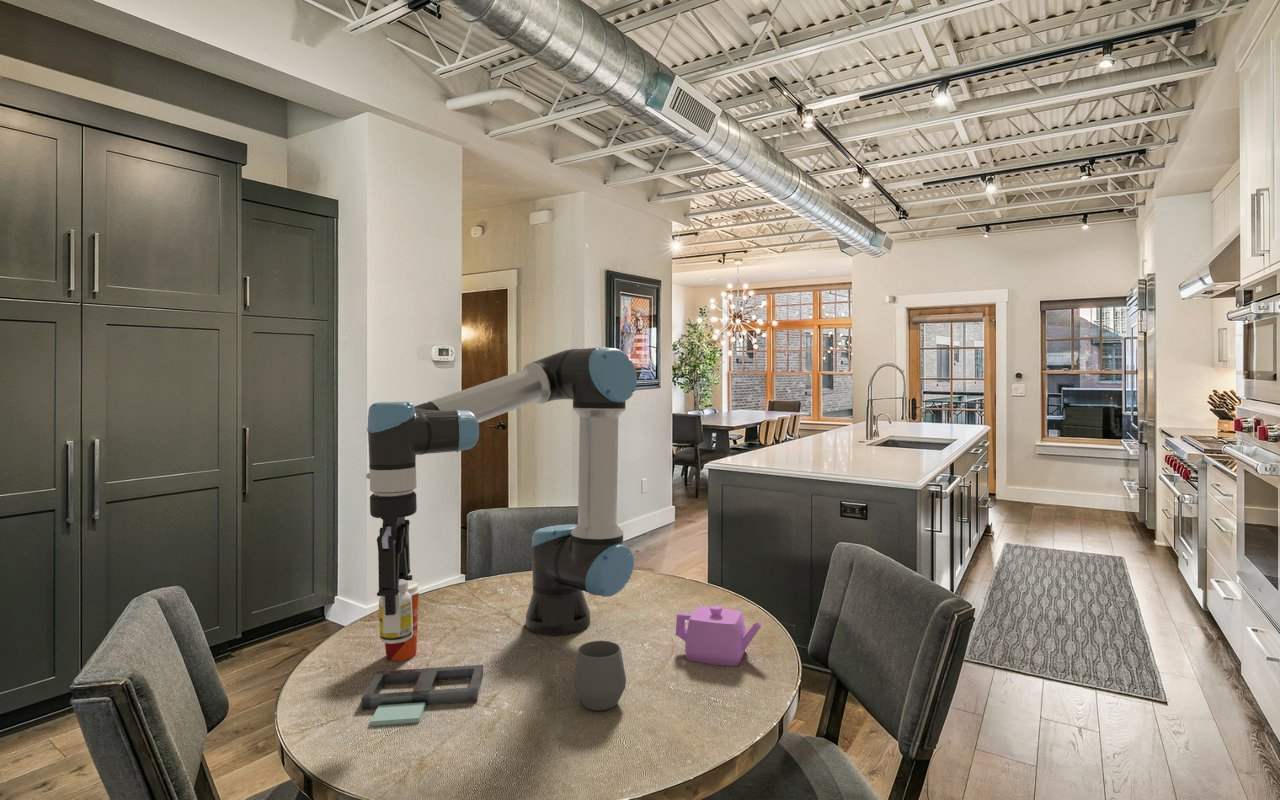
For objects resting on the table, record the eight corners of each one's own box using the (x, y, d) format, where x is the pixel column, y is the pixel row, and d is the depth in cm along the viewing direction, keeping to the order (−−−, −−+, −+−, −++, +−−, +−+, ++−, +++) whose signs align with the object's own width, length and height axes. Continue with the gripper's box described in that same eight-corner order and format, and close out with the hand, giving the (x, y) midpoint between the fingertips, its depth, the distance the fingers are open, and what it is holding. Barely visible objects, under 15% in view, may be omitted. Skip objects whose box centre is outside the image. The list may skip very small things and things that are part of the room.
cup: (577, 691, 126) (576, 638, 126) (627, 691, 126) (626, 638, 126) (570, 716, 117) (569, 660, 117) (624, 717, 117) (624, 660, 116)
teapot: (765, 651, 144) (765, 603, 143) (756, 672, 134) (756, 621, 133) (683, 640, 150) (683, 595, 149) (669, 660, 140) (669, 611, 139)
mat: (425, 706, 121) (425, 702, 121) (419, 722, 116) (419, 717, 116) (378, 709, 120) (378, 705, 120) (370, 726, 114) (370, 721, 114)
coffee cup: (408, 665, 138) (407, 592, 138) (372, 662, 140) (370, 590, 139) (429, 648, 146) (427, 580, 146) (395, 645, 148) (393, 578, 147)
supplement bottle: (384, 632, 120) (383, 578, 119) (416, 631, 120) (415, 577, 120) (375, 645, 114) (374, 587, 114) (408, 643, 115) (407, 586, 114)
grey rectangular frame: (483, 674, 134) (482, 664, 133) (477, 701, 123) (476, 690, 123) (377, 681, 131) (377, 671, 131) (361, 709, 120) (361, 698, 120)
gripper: (383, 483, 125) (386, 608, 126) (354, 503, 106) (358, 648, 107) (425, 482, 126) (428, 606, 127) (404, 501, 107) (407, 645, 108)
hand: (396, 625), depth 117 cm, fingers closed on supplement bottle, 5 cm apart
